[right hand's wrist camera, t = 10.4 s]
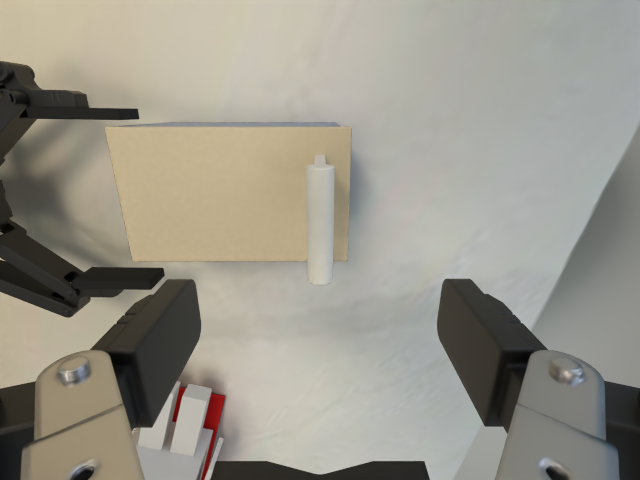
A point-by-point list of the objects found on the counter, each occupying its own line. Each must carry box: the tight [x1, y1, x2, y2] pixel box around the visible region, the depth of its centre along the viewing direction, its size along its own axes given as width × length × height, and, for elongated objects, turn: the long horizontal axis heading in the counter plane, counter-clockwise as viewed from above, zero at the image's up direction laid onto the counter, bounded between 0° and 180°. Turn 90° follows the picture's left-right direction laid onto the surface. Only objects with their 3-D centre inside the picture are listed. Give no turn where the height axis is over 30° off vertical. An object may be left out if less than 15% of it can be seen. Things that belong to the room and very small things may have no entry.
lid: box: [105, 127, 352, 285], centre depth 22 cm, size 16×10×8 cm, turn 90°
